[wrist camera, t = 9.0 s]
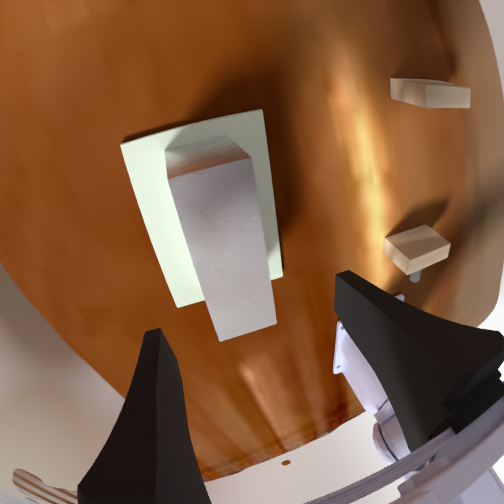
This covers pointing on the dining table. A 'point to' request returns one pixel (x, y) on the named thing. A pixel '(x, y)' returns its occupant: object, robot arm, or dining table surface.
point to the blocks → (423, 237)
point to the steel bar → (223, 232)
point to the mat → (162, 204)
